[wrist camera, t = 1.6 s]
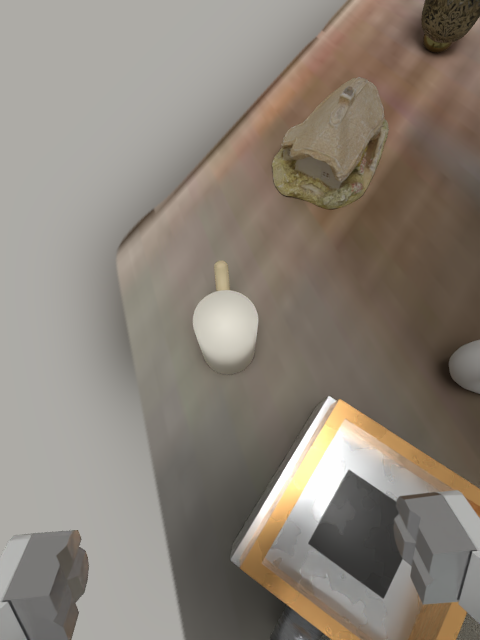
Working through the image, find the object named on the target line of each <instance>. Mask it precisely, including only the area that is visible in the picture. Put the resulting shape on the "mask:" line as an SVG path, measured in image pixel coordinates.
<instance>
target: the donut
mask: <svg viewBox="0 0 480 640" xmlns="http://www.w3.org/2000/svg"><path fill="white" fill-rule="evenodd" d="M449 370H450V375H451V377H452V379H453V380H454V381H455V382H456V383H457V384H459V385H460V386H461V387H463V388H465V389H467V390H470V391H472V392H475V393H479V394H480V340H476V341H473V342H470V343H468V344H465V345H463V346H461V347H460V348H459V349H458V350H456V351H455V352H454V353H453V354H452V356H451V357H450V360H449Z"/></svg>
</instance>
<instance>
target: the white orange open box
mask: <svg viewBox="0 0 480 640" xmlns="http://www.w3.org/2000/svg"><path fill="white" fill-rule="evenodd" d="M453 490H458V491H460V492H461V493H462V494H463V495H464V497H465V498H466V500H467V501H468V502H469V504H470V505H471V507H472V508H473V509H474V511H475V512H476V514H477V515H478V517H479V518H480V489H479V488H477V487H476V486H474V485H473V484H471V483H470V482H468V481H467V480H465V479H463V478H462V477H460V476H459V475H457V474H456V473H454V472H453V471H451V470H449V469H448V468H446V467H445V466H443V465H442V464H440V463H439V462H437V461H436V460H434V459H432V458H431V457H429V456H428V455H426V454H425V453H423V452H422V451H420V450H418V449H417V448H415V447H414V446H412V445H411V444H409V443H408V442H406V441H404V440H403V439H401V438H400V437H398V436H397V435H395V434H394V433H392V432H390V431H389V430H387V429H386V428H384V427H383V426H381V425H380V424H378V423H376V422H375V421H373V420H372V419H370V418H369V417H367V416H366V415H364V414H363V413H361V412H359V411H358V410H356V409H355V408H353V407H352V406H350V405H349V404H347V403H345V402H344V401H342V400H341V399H339V400H337V401H336V400H335V399H333V398H331V397H330V396H328V397H327V398H325V399H324V400H323V401H322V402H320V403H319V404H318V405H317V406H316V407H315V408H314V410H313V412H312V413H311V415H310V417H309V418H308V420H307V422H306V423H305V425H304V427H303V428H302V430H301V432H300V433H299V435H298V436H297V438H296V440H295V441H294V443H293V445H292V446H291V448H290V450H289V451H288V453H287V455H286V456H285V458H284V460H283V461H282V463H281V465H280V466H279V468H278V470H277V471H276V473H275V474H274V476H273V478H272V479H271V481H270V483H269V484H268V486H267V488H266V489H265V491H264V493H263V494H262V496H261V498H260V499H259V501H258V503H257V504H256V506H255V507H254V509H253V511H252V512H251V514H250V516H249V517H248V519H247V521H246V522H245V524H244V526H243V527H242V529H241V531H240V532H239V534H238V536H237V537H236V539H235V541H234V542H233V544H232V549H231V558H230V561H232V562H233V563H234V564H236V565H237V566H238V567H240V569H241V570H243V571H244V572H245V573H247V574H248V575H249V576H250V577H252V578H253V579H254V580H256V581H257V582H258V583H259V584H261V585H262V586H263V587H265V588H266V589H267V590H268V591H270V592H271V593H272V594H274V595H275V596H276V597H277V598H279V599H280V600H281V601H283V602H284V603H285V604H286V605H287V606H286V608H285V610H284V612H283V613H282V615H281V617H280V619H279V621H278V623H277V625H276V626H275V628H274V630H273V632H272V634H271V636H270V640H320V638H321V636H322V634H323V633H324V634H325V635H326V636H328V637H329V638H330V639H332V640H456V638H457V636H458V633H459V631H460V629H461V626H462V624H463V621H464V619H465V616H466V614H467V612H466V611H465V610H464V609H463V608H462V607H461V606H460V605H459V604H458V603H459V602H449V603H437V604H424V605H423V604H422V602H421V599H420V597H419V595H418V593H417V591H416V588H415V586H414V584H413V582H412V580H411V577H410V574H411V568H412V566H411V565H409V564H408V563H407V562H406V561H404V560H403V559H402V557H401V555H400V553H399V550H398V548H397V544H396V541H395V536H394V530H393V526H394V518H395V517H396V516H397V515H398V514H399V512H398V510H397V508H396V502H397V499H398V497H399V496H405V495H413V494H422V493H430V492H444V491H453Z"/></svg>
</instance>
